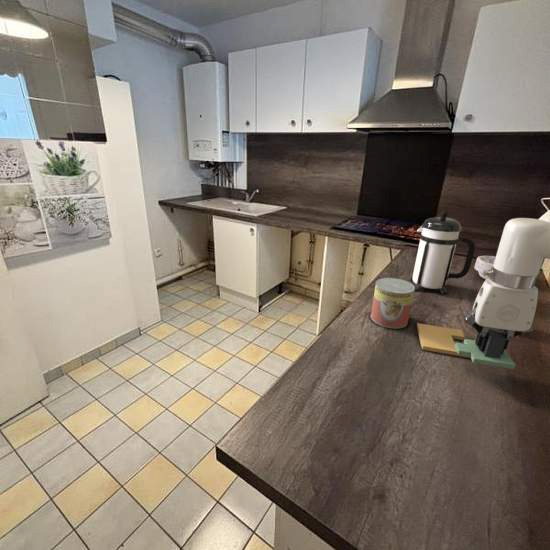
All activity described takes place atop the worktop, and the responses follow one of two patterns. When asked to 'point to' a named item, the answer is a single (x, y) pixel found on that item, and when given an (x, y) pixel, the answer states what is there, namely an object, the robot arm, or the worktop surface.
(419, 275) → the coffee press
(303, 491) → the worktop surface
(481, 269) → the paper bowls
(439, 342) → the sand pad
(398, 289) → the canned food
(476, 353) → the sage pad
